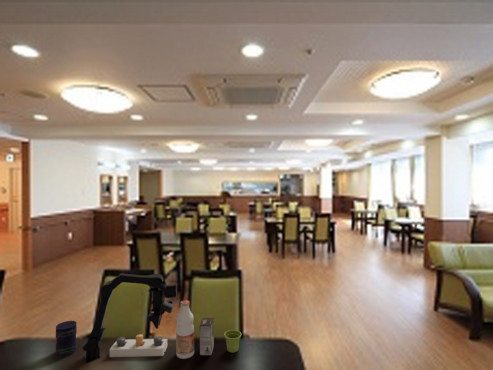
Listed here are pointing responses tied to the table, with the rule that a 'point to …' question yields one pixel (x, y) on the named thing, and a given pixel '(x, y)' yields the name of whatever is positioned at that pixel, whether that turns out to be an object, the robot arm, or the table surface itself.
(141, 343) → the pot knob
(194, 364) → the table surface
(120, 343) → the knob
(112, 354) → the console
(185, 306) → the fruit juice
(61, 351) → the storage jar
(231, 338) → the plant pot
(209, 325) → the coffee box
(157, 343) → the knob
